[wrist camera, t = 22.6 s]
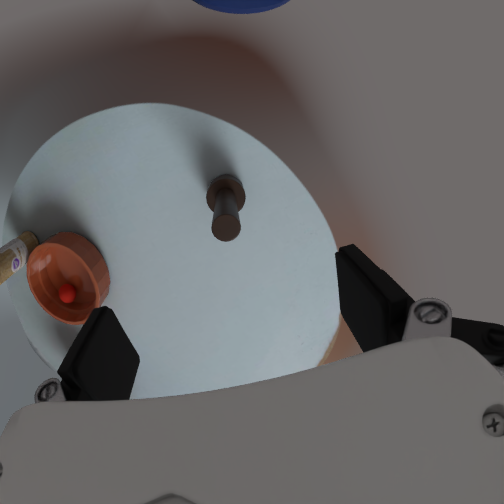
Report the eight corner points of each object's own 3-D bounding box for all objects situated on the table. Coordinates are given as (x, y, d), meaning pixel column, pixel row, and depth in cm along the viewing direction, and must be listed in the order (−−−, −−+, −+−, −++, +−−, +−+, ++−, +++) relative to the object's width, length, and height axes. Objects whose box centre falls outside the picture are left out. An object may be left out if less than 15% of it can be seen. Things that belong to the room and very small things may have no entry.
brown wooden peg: (205, 177, 34) (191, 206, 20) (240, 171, 34) (250, 194, 20) (212, 211, 36) (203, 259, 22) (245, 204, 36) (259, 249, 22)
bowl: (31, 244, 35) (14, 256, 30) (90, 219, 34) (74, 230, 30) (65, 312, 40) (53, 329, 35) (124, 298, 40) (114, 317, 35)
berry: (53, 291, 34) (60, 307, 35) (68, 290, 34) (75, 306, 36) (60, 280, 37) (66, 296, 38) (74, 279, 37) (80, 295, 38)
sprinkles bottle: (42, 256, 36) (-5, 299, 23) (24, 256, 35) (-23, 296, 23) (36, 229, 34) (-16, 266, 21) (18, 230, 33) (-33, 265, 21)
